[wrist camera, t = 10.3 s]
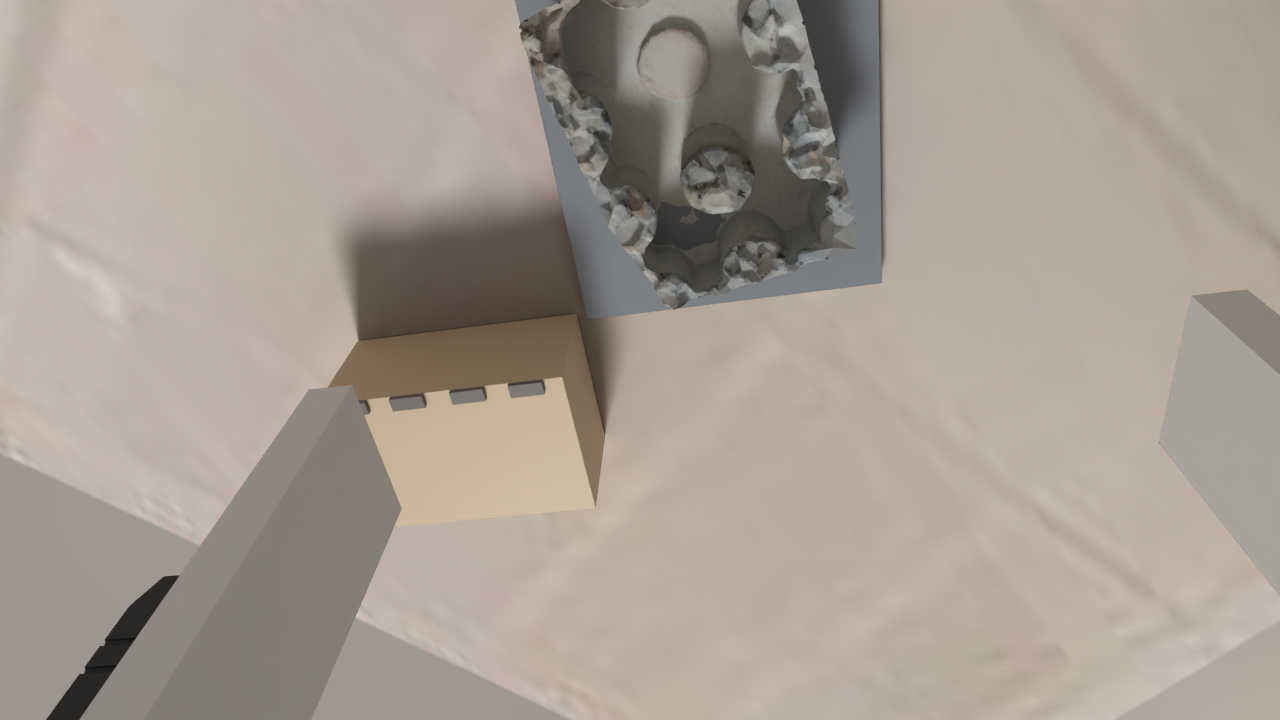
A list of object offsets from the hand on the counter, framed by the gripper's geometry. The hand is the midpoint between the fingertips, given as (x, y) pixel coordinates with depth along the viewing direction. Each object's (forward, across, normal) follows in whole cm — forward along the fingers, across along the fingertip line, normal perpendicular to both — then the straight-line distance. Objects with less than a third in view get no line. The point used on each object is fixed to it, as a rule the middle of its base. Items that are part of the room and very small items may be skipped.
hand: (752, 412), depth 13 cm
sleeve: (+17, +11, +10) cm, 22 cm away
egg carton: (+16, +1, -1) cm, 17 cm away
